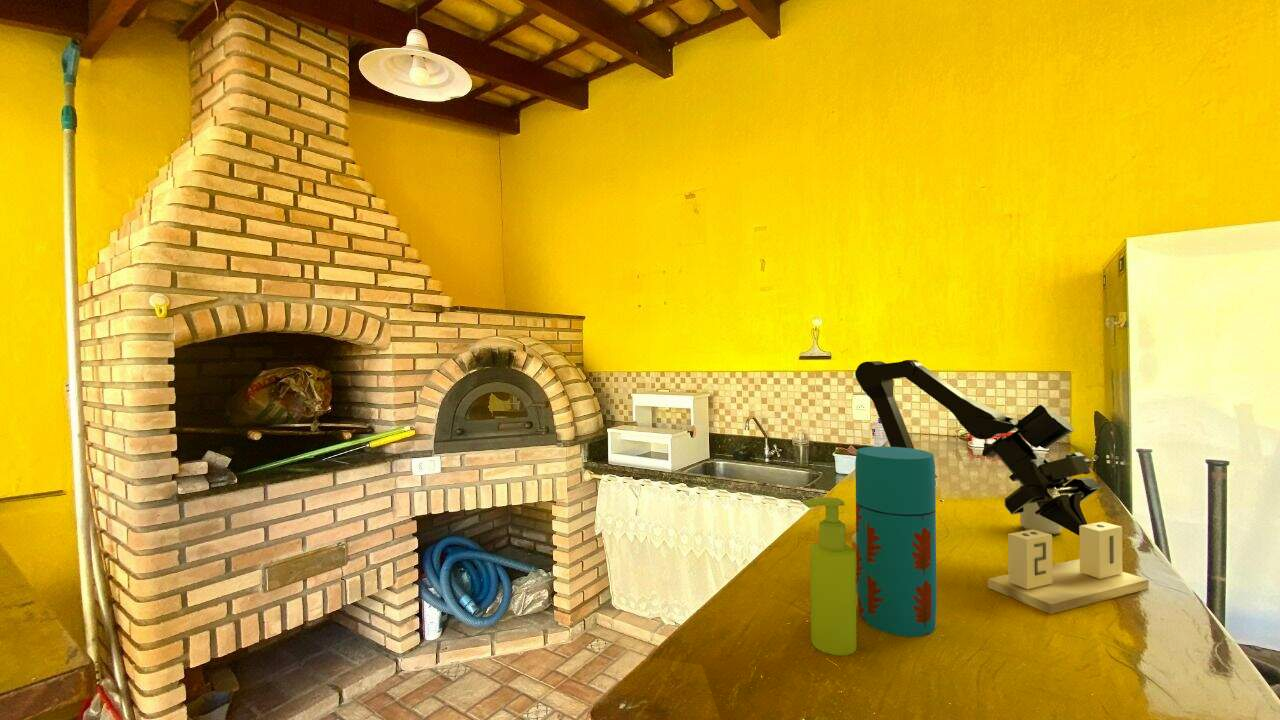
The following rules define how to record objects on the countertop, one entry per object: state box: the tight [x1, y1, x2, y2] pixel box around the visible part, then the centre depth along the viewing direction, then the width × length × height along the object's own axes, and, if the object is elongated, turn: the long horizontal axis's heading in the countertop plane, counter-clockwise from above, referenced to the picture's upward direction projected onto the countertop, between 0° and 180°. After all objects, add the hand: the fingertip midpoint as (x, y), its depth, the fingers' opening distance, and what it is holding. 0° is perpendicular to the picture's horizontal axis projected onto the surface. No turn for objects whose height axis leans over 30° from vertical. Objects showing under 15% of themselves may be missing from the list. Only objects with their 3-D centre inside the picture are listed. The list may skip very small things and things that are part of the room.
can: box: [1019, 482, 1063, 535], centre depth 118 cm, size 8×8×12 cm
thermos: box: [854, 446, 938, 638], centre depth 80 cm, size 11×11×25 cm
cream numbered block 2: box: [1007, 529, 1053, 589], centre depth 88 cm, size 3×6×8 cm, turn 110°
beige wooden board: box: [987, 558, 1150, 615], centre depth 89 cm, size 10×24×2 cm, turn 110°
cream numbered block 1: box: [1078, 521, 1124, 579], centre depth 91 cm, size 3×6×8 cm, turn 110°
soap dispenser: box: [801, 496, 857, 656], centre depth 73 cm, size 6×7×20 cm
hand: (1089, 537), depth 93 cm, fingers closed, pressing on cream numbered block 1
